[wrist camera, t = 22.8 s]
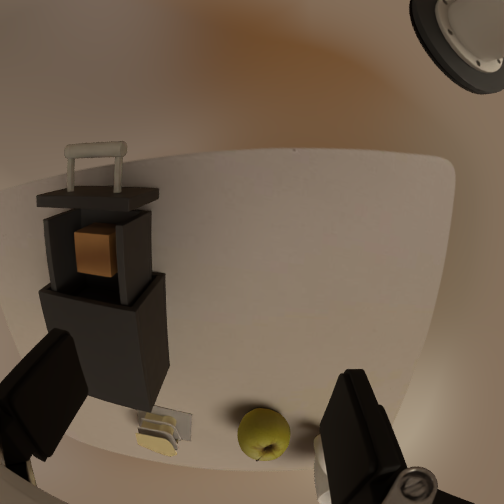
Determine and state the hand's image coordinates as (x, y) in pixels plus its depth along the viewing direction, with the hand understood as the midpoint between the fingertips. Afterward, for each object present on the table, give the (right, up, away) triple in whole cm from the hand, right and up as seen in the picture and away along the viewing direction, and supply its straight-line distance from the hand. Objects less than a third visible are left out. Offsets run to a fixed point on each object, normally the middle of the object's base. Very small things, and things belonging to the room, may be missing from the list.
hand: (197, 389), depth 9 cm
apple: (+4, -22, +32) cm, 39 cm away
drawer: (-14, +8, +22) cm, 28 cm away
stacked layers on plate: (-14, -26, +34) cm, 45 cm away
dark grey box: (-16, -4, +27) cm, 32 cm away
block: (-14, +6, +22) cm, 27 cm away
